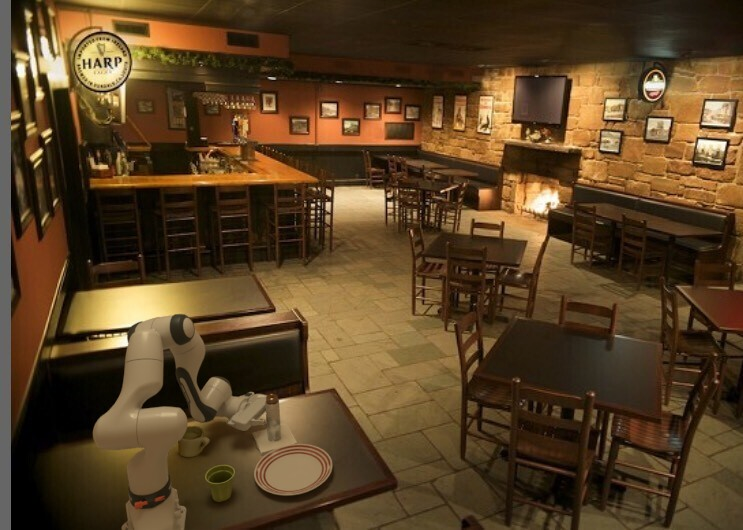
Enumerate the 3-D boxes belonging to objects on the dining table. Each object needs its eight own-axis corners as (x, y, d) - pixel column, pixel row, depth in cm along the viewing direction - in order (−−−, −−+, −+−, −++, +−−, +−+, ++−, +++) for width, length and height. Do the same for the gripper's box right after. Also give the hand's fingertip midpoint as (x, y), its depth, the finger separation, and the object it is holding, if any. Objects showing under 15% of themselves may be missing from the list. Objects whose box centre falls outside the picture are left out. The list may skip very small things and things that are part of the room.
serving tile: (297, 445, 196) (297, 442, 196) (261, 455, 191) (261, 452, 190) (286, 426, 209) (286, 423, 208) (252, 435, 203) (252, 432, 202)
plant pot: (219, 483, 176) (217, 461, 174) (242, 490, 173) (240, 468, 171) (201, 501, 168) (199, 479, 166) (225, 509, 165) (223, 486, 162)
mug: (167, 451, 190) (174, 426, 189) (188, 444, 199) (195, 420, 198) (189, 467, 185) (197, 442, 184) (210, 459, 194) (217, 435, 193)
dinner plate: (239, 492, 172) (238, 484, 171) (277, 444, 197) (276, 437, 197) (314, 510, 165) (314, 502, 164) (343, 458, 190) (343, 450, 189)
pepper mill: (282, 439, 198) (280, 395, 192) (269, 443, 196) (266, 398, 190) (279, 432, 203) (276, 388, 197) (266, 435, 200) (263, 391, 195)
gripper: (223, 416, 191) (255, 423, 187) (253, 389, 209) (282, 395, 205) (224, 430, 193) (256, 438, 188) (254, 403, 211) (283, 409, 207)
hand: (270, 415), depth 197 cm, fingers open, 8 cm apart
